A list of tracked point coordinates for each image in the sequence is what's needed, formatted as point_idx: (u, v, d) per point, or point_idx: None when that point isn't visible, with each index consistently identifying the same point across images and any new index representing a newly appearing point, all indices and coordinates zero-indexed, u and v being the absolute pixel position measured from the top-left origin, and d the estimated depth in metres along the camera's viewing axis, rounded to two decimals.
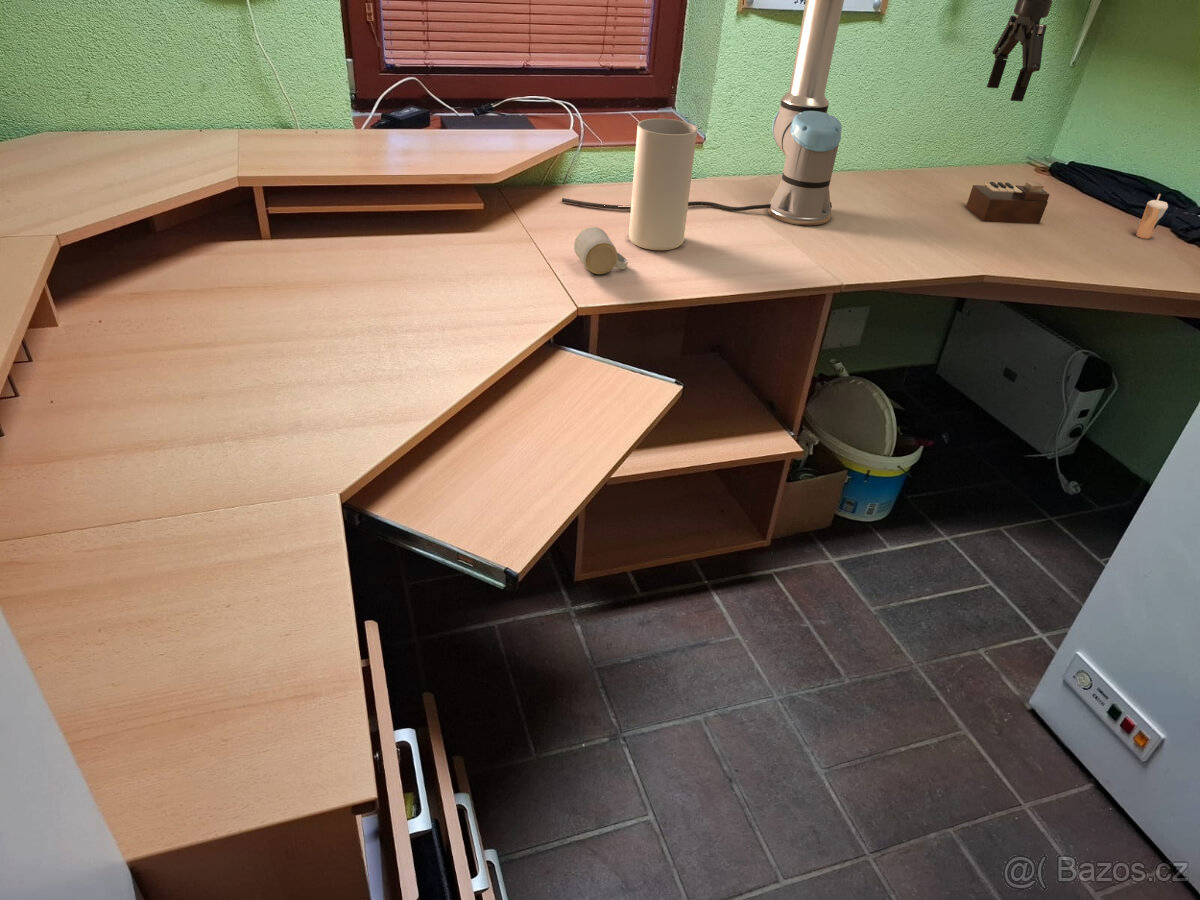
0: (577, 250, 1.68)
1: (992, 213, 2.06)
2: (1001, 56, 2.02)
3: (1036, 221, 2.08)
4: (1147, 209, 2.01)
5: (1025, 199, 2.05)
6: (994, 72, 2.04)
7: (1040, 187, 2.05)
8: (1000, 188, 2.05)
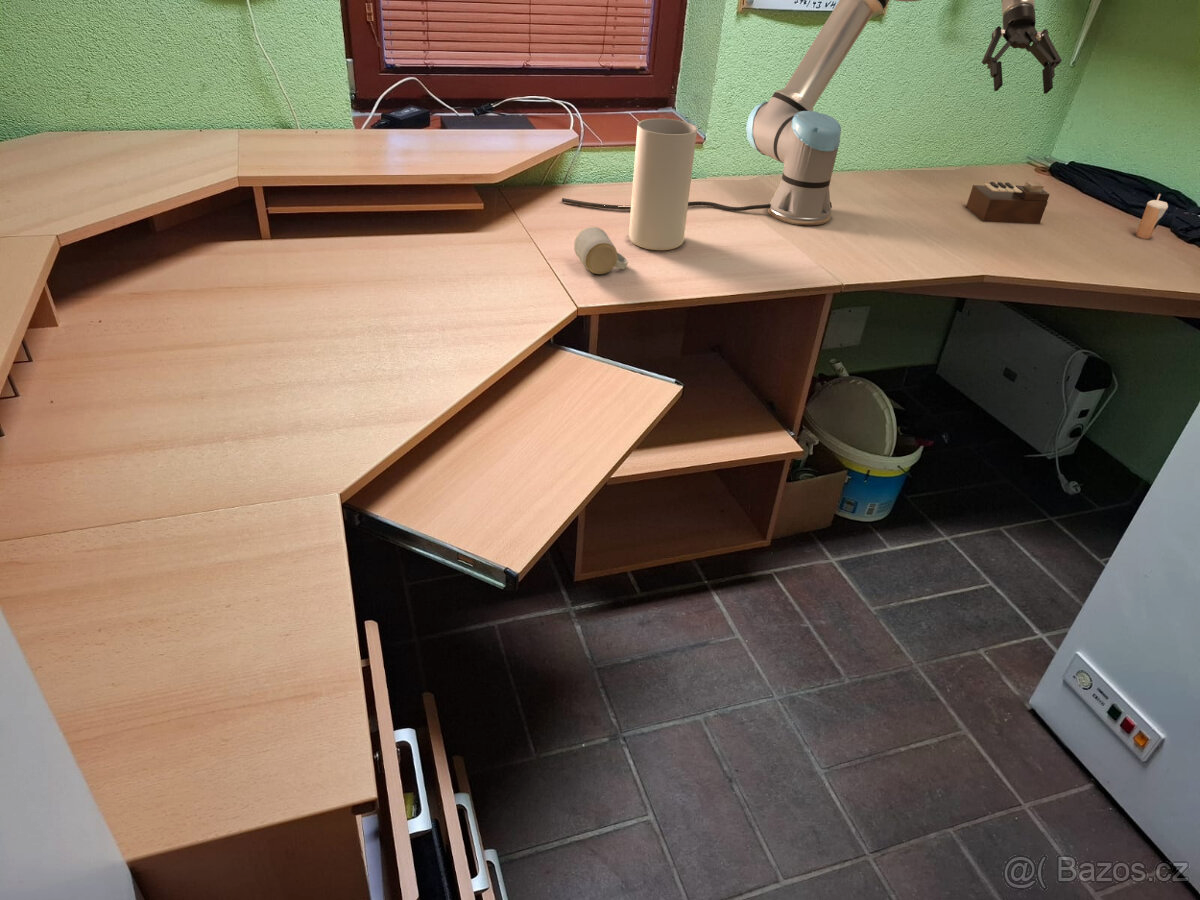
0: (577, 250, 1.68)
1: (992, 213, 2.06)
2: None
3: (1036, 221, 2.08)
4: (1147, 209, 2.01)
5: (1025, 199, 2.05)
6: None
7: (1040, 187, 2.05)
8: (1000, 188, 2.05)
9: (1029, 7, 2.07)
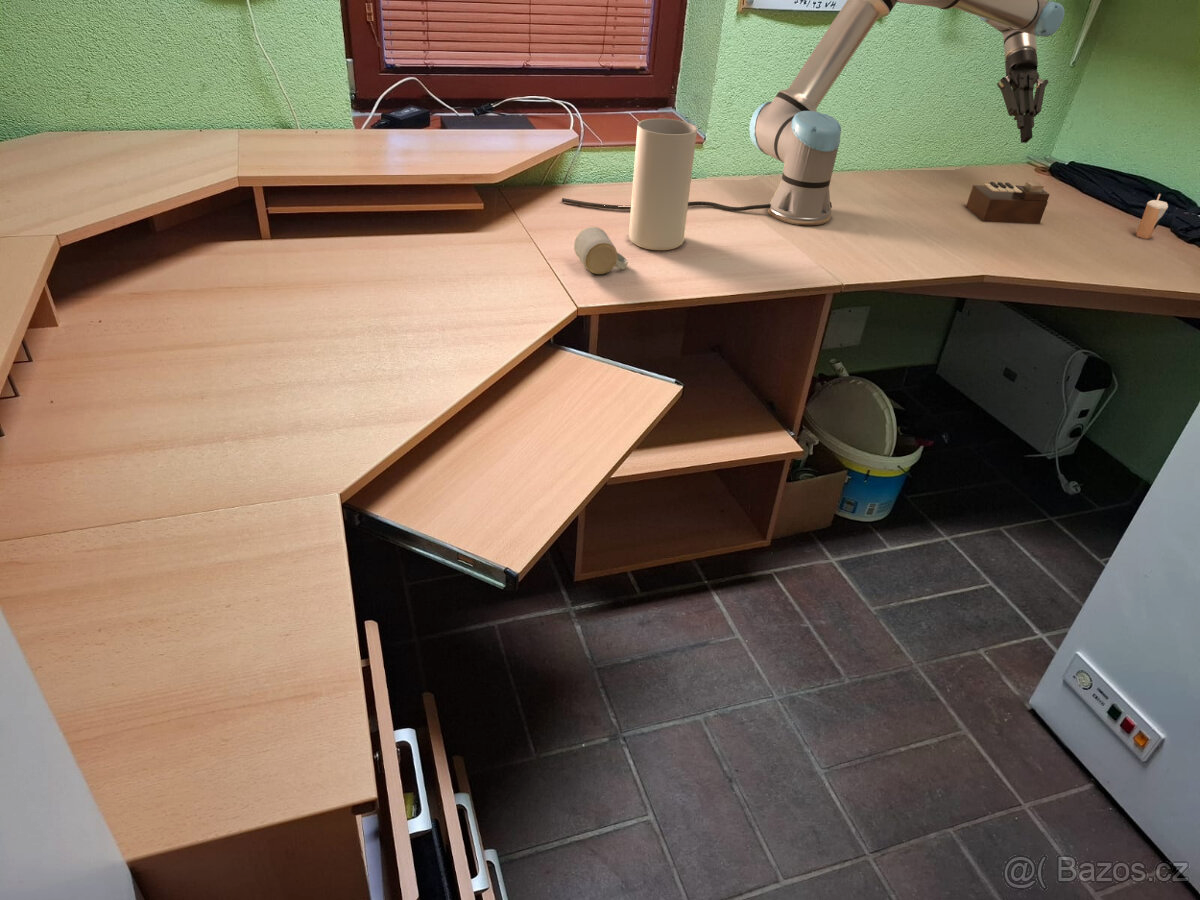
0: (577, 250, 1.68)
1: (992, 213, 2.06)
2: None
3: (1036, 221, 2.08)
4: (1147, 209, 2.01)
5: (1025, 199, 2.05)
6: None
7: (1040, 187, 2.05)
8: (1000, 188, 2.05)
9: (1031, 51, 2.10)
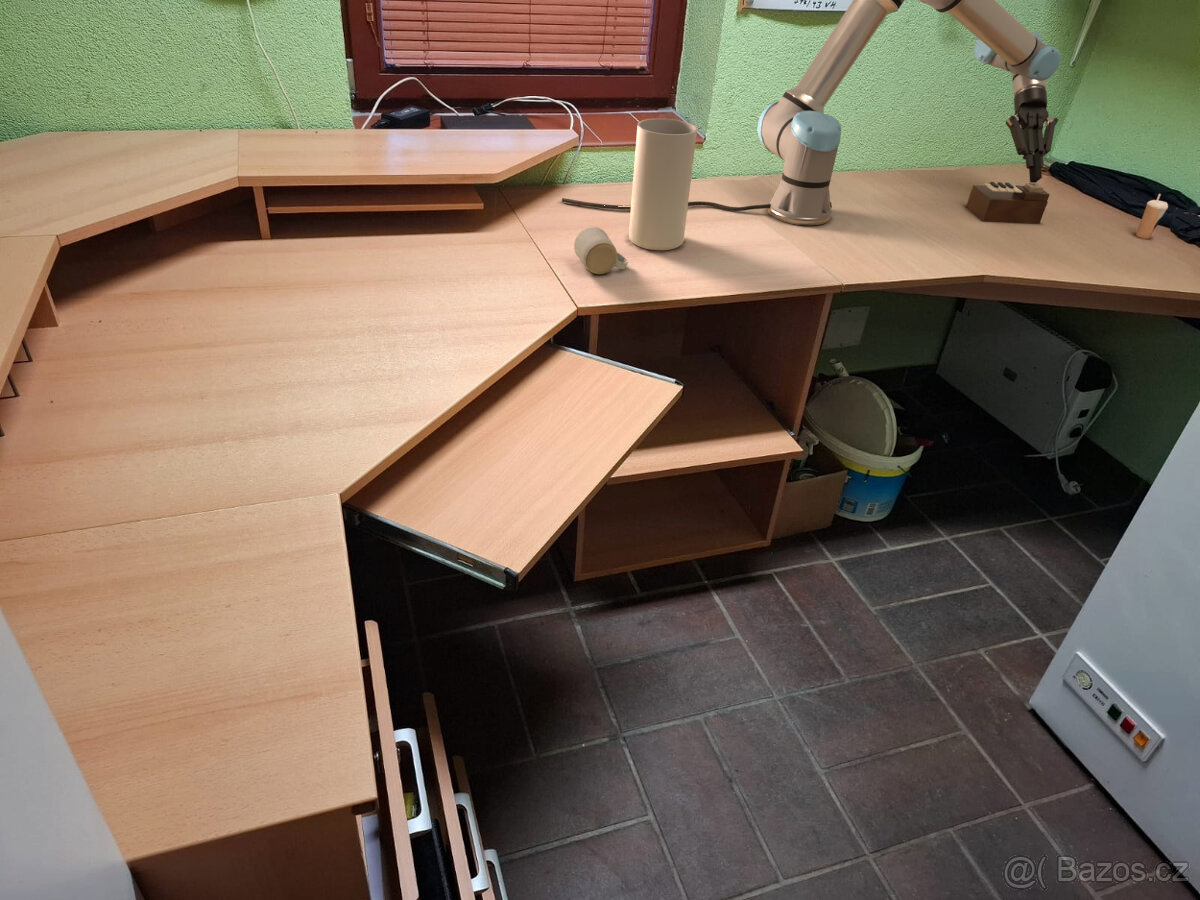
0: (577, 250, 1.68)
1: (992, 213, 2.06)
2: None
3: (1036, 221, 2.08)
4: (1147, 209, 2.01)
5: (1025, 199, 2.05)
6: None
7: (1039, 188, 2.05)
8: (1000, 188, 2.05)
9: (1041, 89, 2.05)
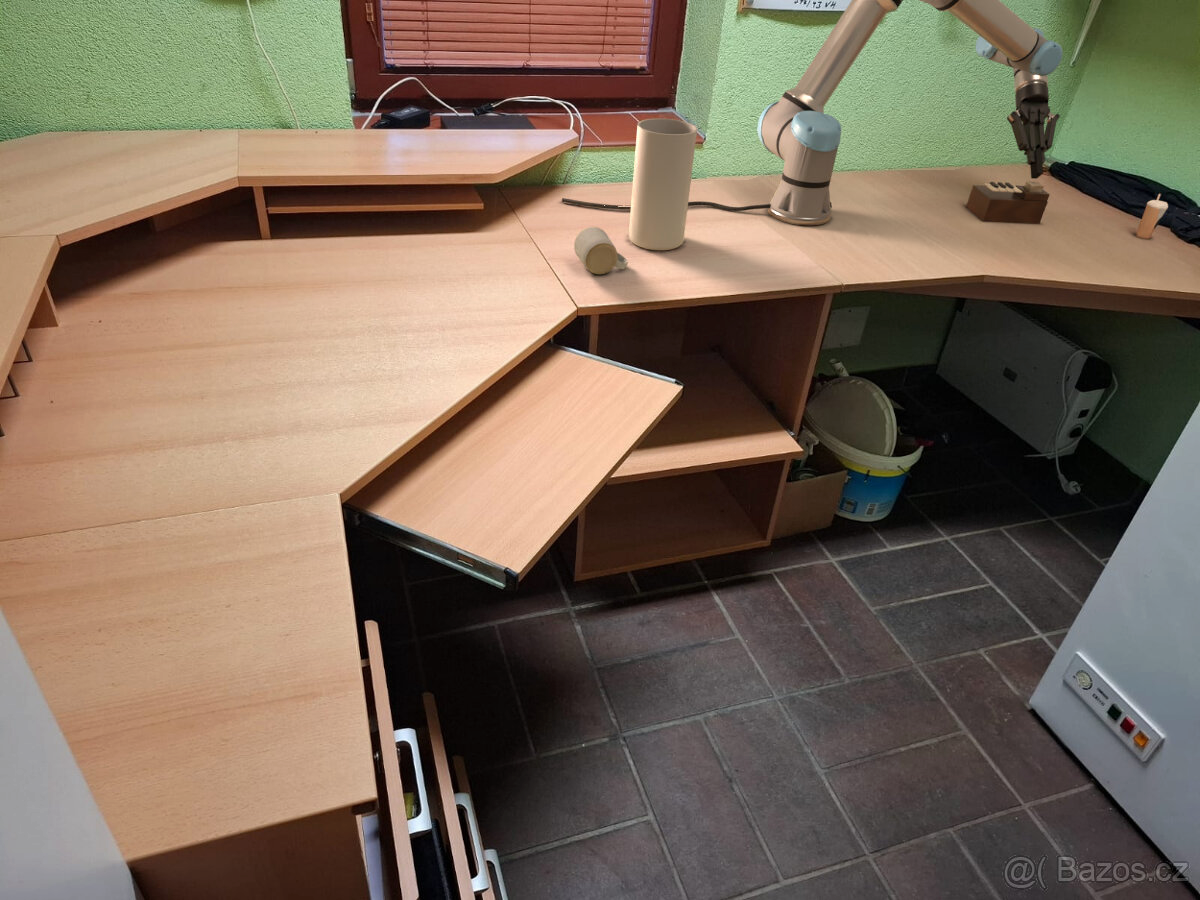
0: (577, 250, 1.68)
1: (992, 213, 2.06)
2: None
3: (1036, 221, 2.08)
4: (1147, 209, 2.01)
5: (1025, 199, 2.05)
6: None
7: (1040, 187, 2.05)
8: (1000, 188, 2.05)
9: (1042, 85, 2.05)
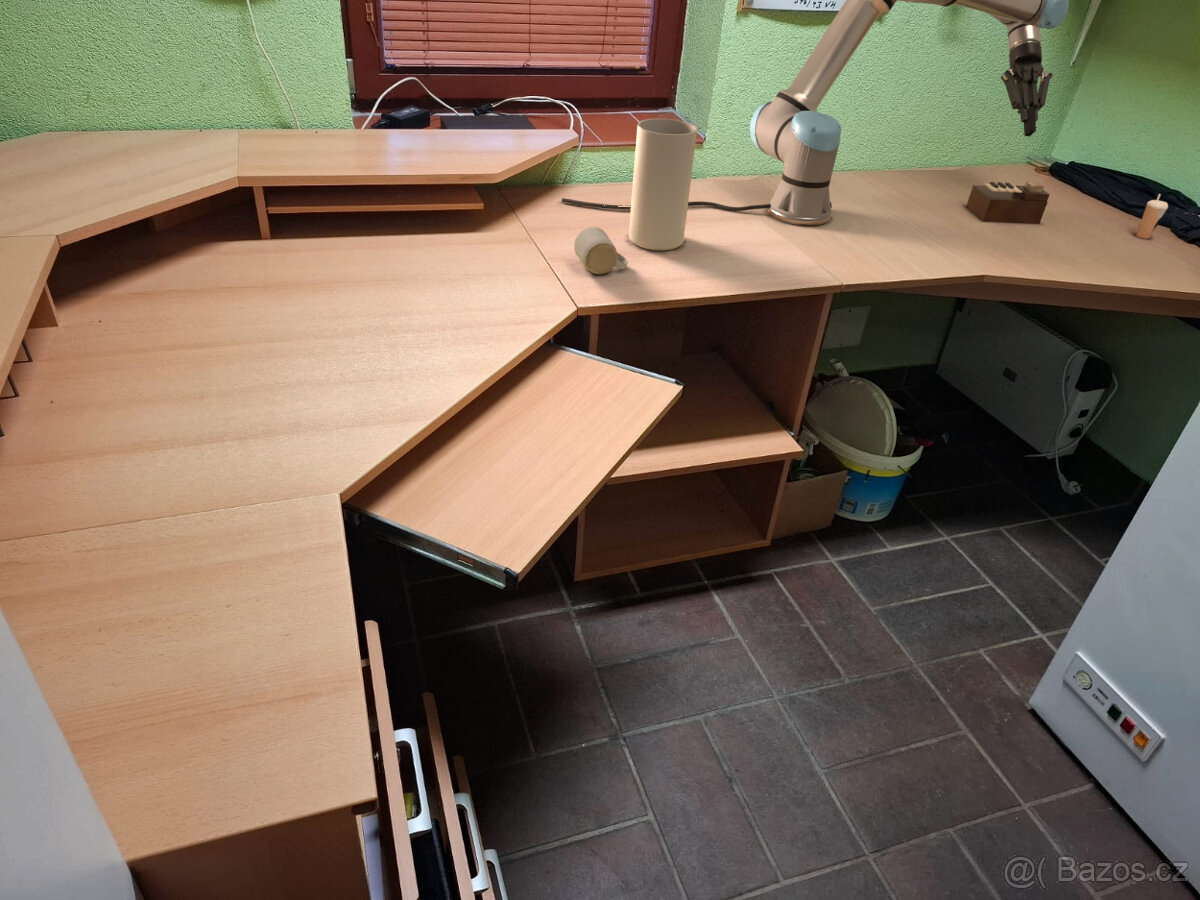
0: (577, 250, 1.68)
1: (992, 213, 2.06)
2: None
3: (1036, 221, 2.08)
4: (1147, 209, 2.01)
5: (1025, 199, 2.05)
6: None
7: (1040, 187, 2.05)
8: (1000, 188, 2.05)
9: (1035, 44, 2.08)
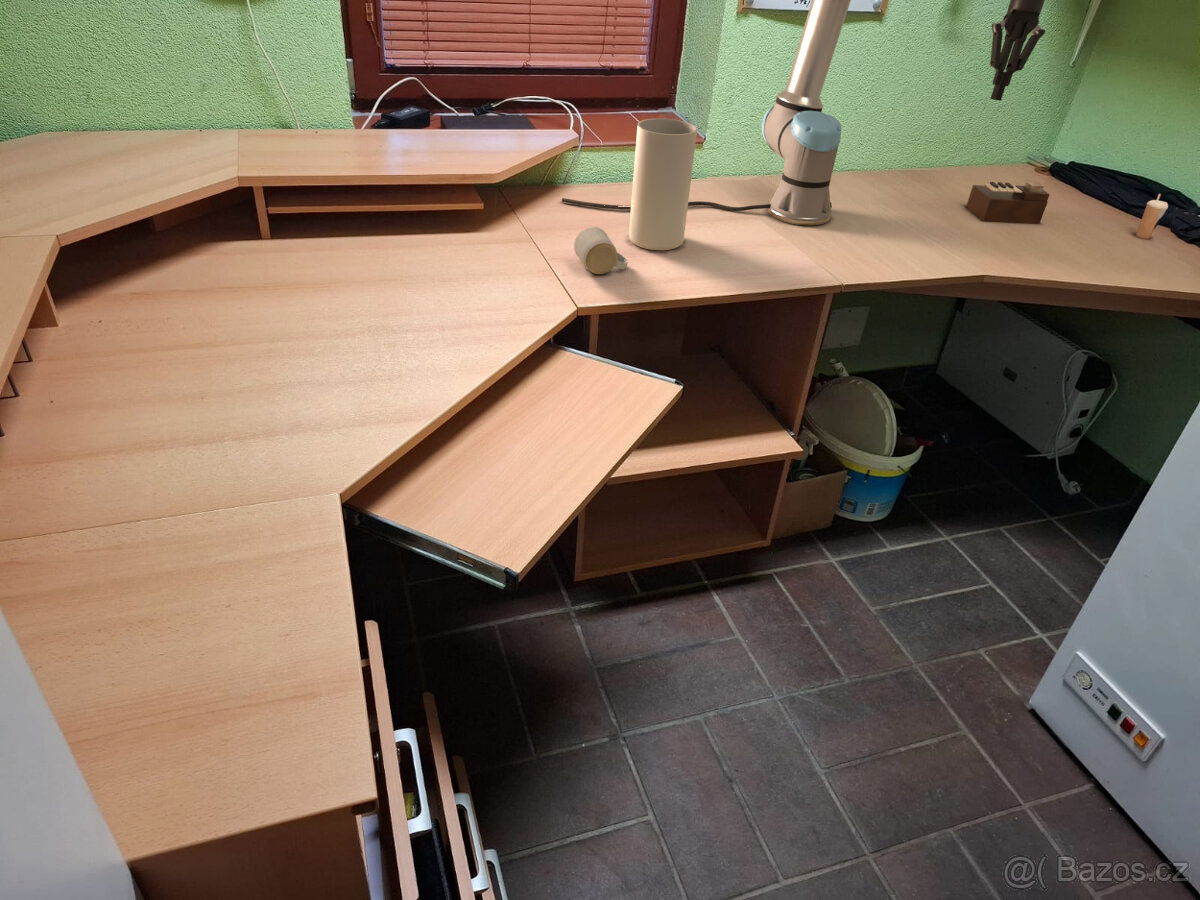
0: (577, 250, 1.68)
1: (992, 213, 2.06)
2: None
3: (1036, 221, 2.08)
4: (1147, 209, 2.01)
5: (1025, 199, 2.05)
6: None
7: (1040, 187, 2.05)
8: (1000, 188, 2.05)
9: None
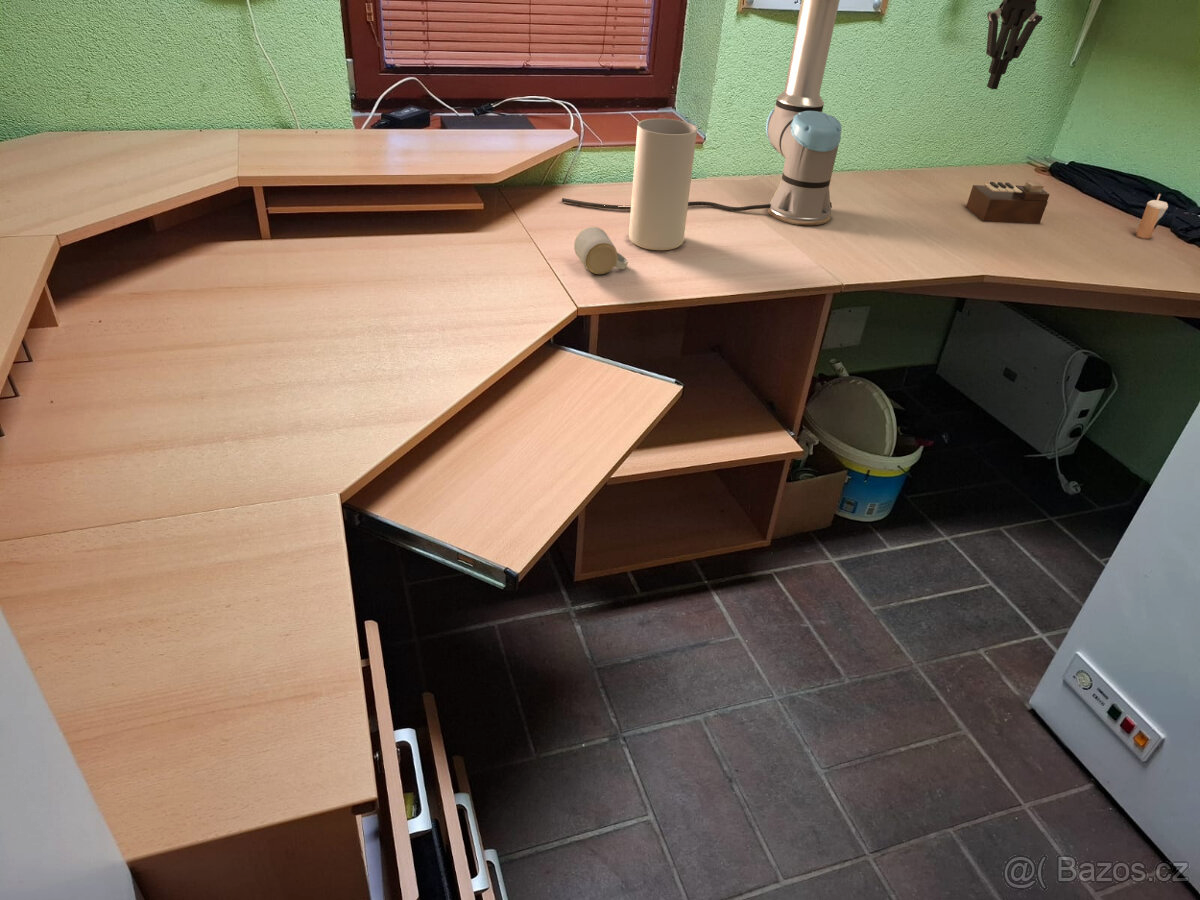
0: (577, 250, 1.68)
1: (992, 213, 2.06)
2: None
3: (1036, 221, 2.08)
4: (1147, 209, 2.01)
5: (1025, 199, 2.05)
6: None
7: (1040, 187, 2.05)
8: (1000, 188, 2.05)
9: None
